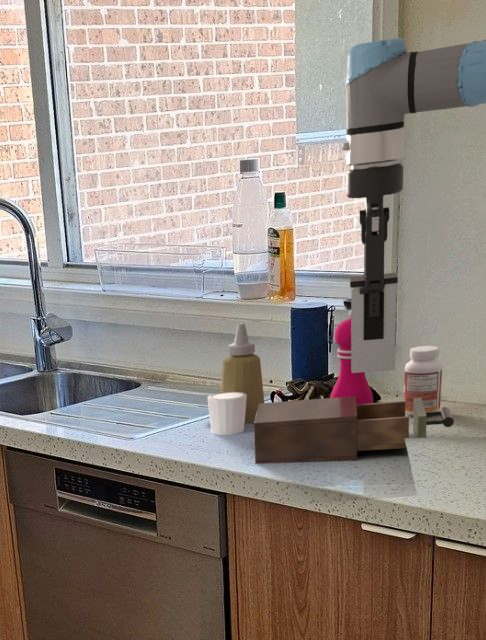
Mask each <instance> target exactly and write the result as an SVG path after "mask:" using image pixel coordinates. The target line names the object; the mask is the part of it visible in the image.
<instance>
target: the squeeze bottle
mask: <svg viewBox="0 0 486 640" xmlns="http://www.w3.org/2000/svg"><path fill="white" fill-rule="evenodd" d="M246 327H247V326H246V323H245V322H240V323H237V327H236V333H235V336H234V337H235V338H234V341H233V343H230V344H229V345H227V347H228V351H227V353H228V355H227V356H226V357H225V358H224V359H223V361H222V370H221V371H222V372H221V383H220V392H219V393H223V392H241V393H245V394H246V395H247V399H246V411H245V422H244V425H249V424H254V422H255V418H256V414H257V410H258V406H259V403H265V395H264V394H265V393H264V385H263V374H262V364H261V357H260V356H258V355H257V354H255V352H256V350H255V349H256V344H255V342H251V341H250V340H249V335H248V332H247V328H246Z"/></svg>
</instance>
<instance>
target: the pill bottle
mask: <svg viewBox="0 0 486 640" xmlns="http://www.w3.org/2000/svg"><path fill="white" fill-rule="evenodd" d="M409 349H410V350H409V359H410V361H408V362H407V363H406V364H405V366H404V372H403V373H404V374H403V375H404V376H403V397H402V401H405V415H409V416H413V401H414V398H422V402H423V405H424V409H425V412H433V411H440V410H441V401H442V400H441V399H442V381H443V380H442V379H443V364H442V362H441V360H439V359H438V357H439V354H440V348H439V346H436V345H422V346H421V345H419V346H415V347H411V348H409Z"/></svg>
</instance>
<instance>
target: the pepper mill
mask: <svg viewBox="0 0 486 640" xmlns="http://www.w3.org/2000/svg"><path fill="white" fill-rule="evenodd" d="M347 315H348V318H347V319H344V320H342V321H341V322H340V323H339V324H338V325H337V326H336V328H335V330H334V341H335V343H336V344H337V346H338V347H339V348H337V349H336V352H337V355H336V357H337V358H338V359H339V374H338V378H337V380H336V383H335V384H334V387H333V389H332V391H331V393H330V397H329V398H338V397H352V396H356V404H370V403H374V396H373V392H372V389H371V387H370V384H369V382H368V380H367V376H366V372H360V373H351V309H350V310H349V312H348V314H347Z"/></svg>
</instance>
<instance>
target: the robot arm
mask: <svg viewBox="0 0 486 640" xmlns="http://www.w3.org/2000/svg"><path fill="white" fill-rule="evenodd" d="M346 66H347V67H346V81H345V83H344V84H345V106H346V107H345V108H346V110H345V112H346V115H345V117H346V140H347V141H348V142H343V143H342V145H341V150H342V151H347V153H346V165H347V166H348V167H351V169H348V171H347V172H346V174H345V175H346V176H345V177H346V179H345V181H346V182H345V184H346V186H345V187H346V188H345V190H346V191H345V192H346V193H345V195H346V197H347V198H349V199H364V198H365V208H364V209H361V210H359V218H358V219H359V224H360V226H361V227H360V241H361V243H362V245H363V247H364V248H363V265H364V266H363V275H362V276H365V285H364V289H361V290H360V294H364V340H376V339H384V292H383V290H384V287H385V283H384V274H385V243H386V242H387V241H388V223H389V222H390V207H389V206H386V207H384V196H390V195H394V194H399V193H400V192H402V191H403V189H404V165H403V164H402V163H400V161H401V160H402V159H404V157H405V115H408V114H417V113H422V112H432V111H441V110H449V109H457V108H465V107H468V108H473V107H477V106H480V105H484V104H486V39H483V40H477V41H476V40H475V41H470V42H467V43H461V44H455V45H450V46H449V45H448V46H444V47H438V48H433V49H432V48H431V49H426V50H421V51H408V49H407V46H406V41H405V39H404V38H401V37H395V38H389V39H383V40H375V41H368V42H363V43H359V44H358V43H357V44H355V45H354V46H352V47H351V48H350V50H349V51H348V54H347V65H346Z"/></svg>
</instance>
